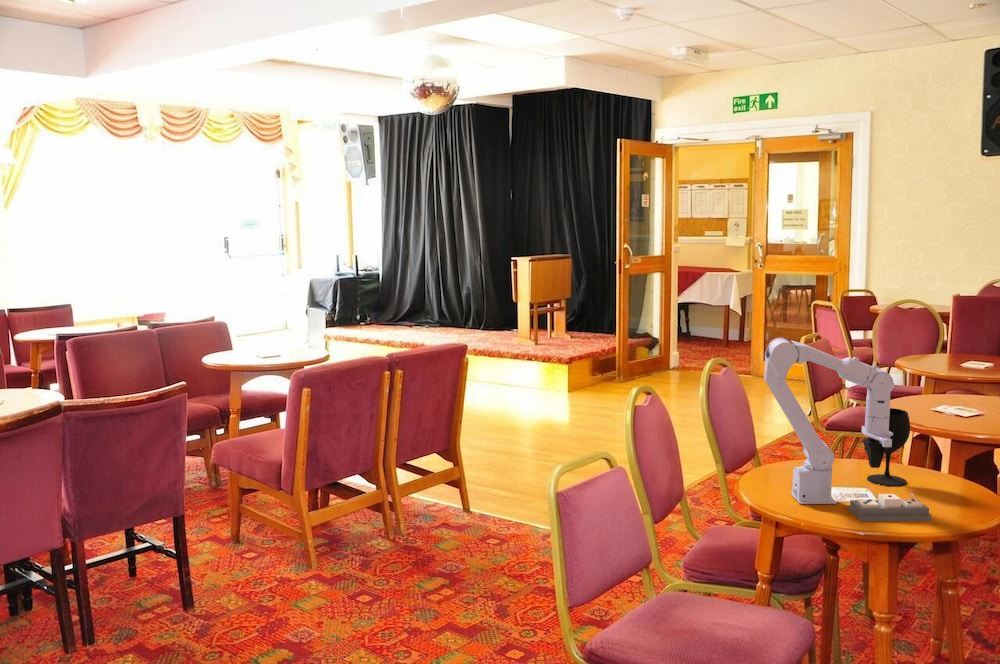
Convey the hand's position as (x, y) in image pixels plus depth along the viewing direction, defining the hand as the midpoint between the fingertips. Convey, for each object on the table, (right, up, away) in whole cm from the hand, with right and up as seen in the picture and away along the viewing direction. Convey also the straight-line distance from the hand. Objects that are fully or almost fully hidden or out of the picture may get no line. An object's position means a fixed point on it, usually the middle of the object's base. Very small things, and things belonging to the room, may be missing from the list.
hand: (874, 467), depth 233 cm
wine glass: (+11, -7, +19) cm, 23 cm away
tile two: (+5, -10, -9) cm, 14 cm away
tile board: (0, -11, -9) cm, 14 cm away
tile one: (0, -8, -9) cm, 12 cm away
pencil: (+11, -10, -2) cm, 15 cm away
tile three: (-5, -10, -9) cm, 14 cm away
